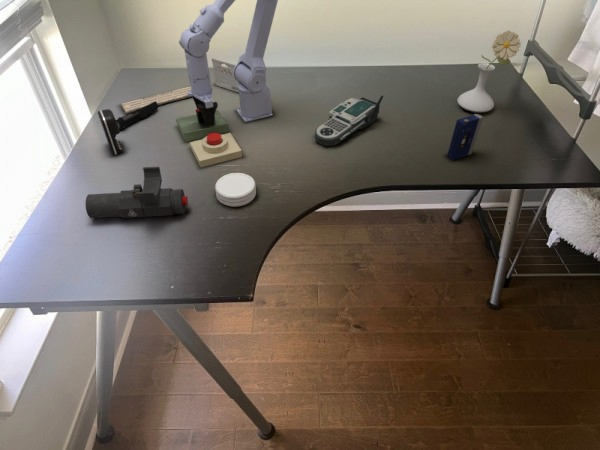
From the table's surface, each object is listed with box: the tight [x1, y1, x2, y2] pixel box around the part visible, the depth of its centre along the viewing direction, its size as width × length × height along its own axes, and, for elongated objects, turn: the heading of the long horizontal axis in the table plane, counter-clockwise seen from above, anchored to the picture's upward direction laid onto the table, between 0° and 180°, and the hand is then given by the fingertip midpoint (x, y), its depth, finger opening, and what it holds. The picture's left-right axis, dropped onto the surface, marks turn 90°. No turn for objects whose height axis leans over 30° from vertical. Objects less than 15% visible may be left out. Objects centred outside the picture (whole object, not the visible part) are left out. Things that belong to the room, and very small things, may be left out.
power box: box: [189, 132, 243, 168], centre depth 125 cm, size 12×10×4 cm
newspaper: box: [120, 86, 192, 115], centre depth 147 cm, size 24×7×2 cm, turn 121°
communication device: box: [314, 95, 384, 147], centre depth 133 cm, size 12×24×9 cm, turn 137°
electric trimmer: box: [116, 102, 159, 131], centre depth 138 cm, size 4×16×3 cm, turn 142°
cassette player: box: [446, 113, 484, 161], centre depth 122 cm, size 7×2×12 cm, turn 118°
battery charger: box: [97, 108, 124, 156], centre depth 124 cm, size 7×4×11 cm, turn 28°
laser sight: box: [84, 166, 189, 219], centre depth 104 cm, size 10×22×10 cm, turn 95°
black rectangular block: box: [195, 108, 215, 123], centre depth 132 cm, size 5×2×4 cm, turn 115°
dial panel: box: [175, 109, 229, 143], centre depth 134 cm, size 13×9×3 cm
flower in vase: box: [456, 29, 522, 113], centre depth 137 cm, size 13×11×25 cm
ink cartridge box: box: [211, 58, 239, 94], centre depth 151 cm, size 2×11×10 cm, turn 58°
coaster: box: [214, 172, 257, 208], centre depth 112 cm, size 10×10×4 cm
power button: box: [207, 133, 222, 146], centre depth 123 cm, size 4×4×2 cm
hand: (206, 118), depth 133 cm, fingers open, 7 cm apart
